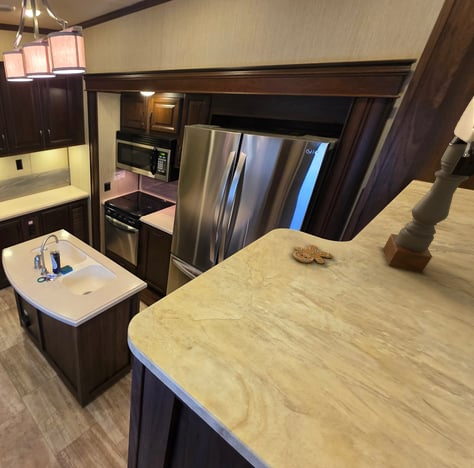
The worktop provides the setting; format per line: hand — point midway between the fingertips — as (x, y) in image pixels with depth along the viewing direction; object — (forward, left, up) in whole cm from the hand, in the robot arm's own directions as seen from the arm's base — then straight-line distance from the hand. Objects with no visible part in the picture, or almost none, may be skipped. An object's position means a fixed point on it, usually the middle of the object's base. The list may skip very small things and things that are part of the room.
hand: (454, 169), depth 64 cm
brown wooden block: (0, 0, -25) cm, 25 cm away
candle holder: (0, 0, -20) cm, 20 cm away
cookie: (+21, +9, -25) cm, 34 cm away
